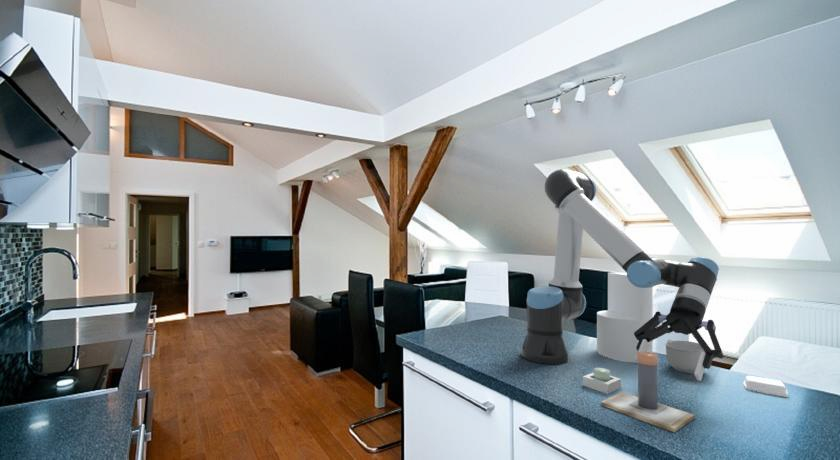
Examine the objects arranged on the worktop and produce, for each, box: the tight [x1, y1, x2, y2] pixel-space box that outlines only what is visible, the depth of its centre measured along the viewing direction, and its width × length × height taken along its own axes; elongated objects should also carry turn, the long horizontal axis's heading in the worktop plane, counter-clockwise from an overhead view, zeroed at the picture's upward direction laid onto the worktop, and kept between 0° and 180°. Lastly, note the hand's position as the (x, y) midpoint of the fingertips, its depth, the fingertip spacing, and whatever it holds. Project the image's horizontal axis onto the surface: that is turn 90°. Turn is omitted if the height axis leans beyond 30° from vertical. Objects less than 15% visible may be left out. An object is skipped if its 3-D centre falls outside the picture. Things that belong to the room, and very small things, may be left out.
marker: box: [637, 352, 659, 409], centre depth 91 cm, size 4×4×12 cm
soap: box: [742, 375, 789, 398], centre depth 105 cm, size 9×7×3 cm
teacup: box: [664, 338, 704, 374], centre depth 121 cm, size 14×11×8 cm
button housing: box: [582, 371, 622, 395], centre depth 105 cm, size 7×7×2 cm
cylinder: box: [596, 272, 654, 364], centre depth 135 cm, size 17×17×28 cm
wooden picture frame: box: [600, 391, 695, 433], centre depth 91 cm, size 16×11×1 cm
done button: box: [593, 367, 611, 382], centre depth 105 cm, size 4×4×3 cm
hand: (666, 369), depth 97 cm, fingers open, 13 cm apart
